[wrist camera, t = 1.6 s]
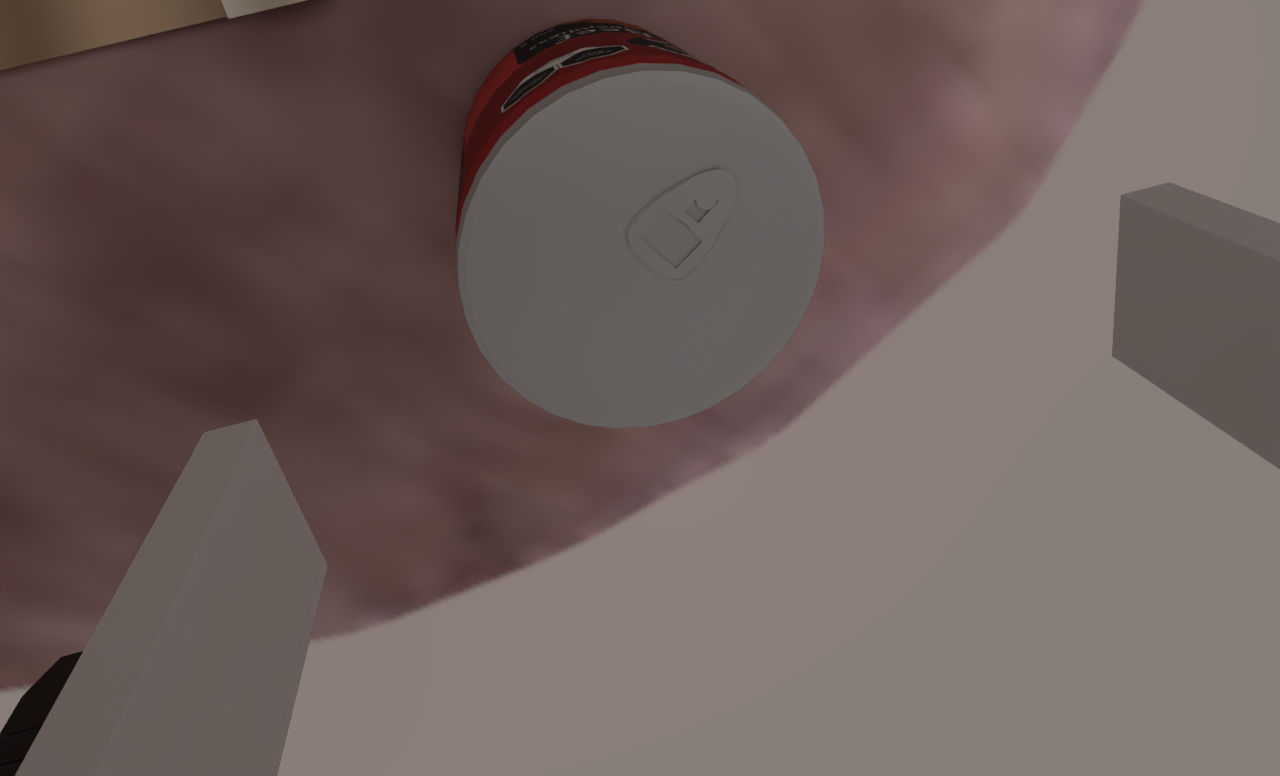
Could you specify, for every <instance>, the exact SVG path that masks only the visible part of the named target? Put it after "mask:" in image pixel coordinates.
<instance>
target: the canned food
mask: <svg viewBox="0 0 1280 776" xmlns="http://www.w3.org/2000/svg"><path fill="white" fill-rule="evenodd" d="M824 246H825V240H824V209H823V204H822V200H821V195H820V191H819V186H818V182H817V177H816V175H815V173H814V171H813V169H812V167H811V165H810V162H809V160H808V158H807V156H806V154H805V152H804V149H803V147H802V146H801V144H800V143H799V142H798V140H797V139H796V138H795V137H794V135H793V134H792V133H791V131H790V130H789V129H788V128H787V126H786V125H785V124H784V122H783V121H782V120H781V118H780V117H779V116H778V115H777V113H776V112H775V111H774V110H773V109H772V108H770V107H769V106H768V105H767V104H765V103H764V102H763V101H762V100H761V99H759V98H758V97H757V96H756V95H754V94H753V93H752V92H751V91H750V90H748V89H747V88H745V87H744V86H742V85H740V84H739V83H738V82H737V81H735V80H734V79H732V78H731V77H729V76H727V75H725V74H724V73H722V72H720V71H718V70H717V69H715V68H713V67H711V66H710V65H708V64H706V63H704V62H703V61H701V60H699V59H697V58H696V57H694V56H692V55H690V54H689V53H687V52H685V51H683V50H682V49H680V48H678V47H676V46H675V45H673V44H671V43H669V42H668V41H666V40H664V39H662V38H660V37H658V36H656V35H654V34H652V33H650V32H648V31H646V30H644V29H642V28H640V27H638V26H635V25H631V24H627V23H623V22H619V21H615V20H592V19H586V20H580V21H575V22H570V23H564V24H559V25H557V26H555V27H552V28H550V29H547V30H545V31H543V32H540V33H538V34H535V35H534V36H532V37H531V38H529V39H528V40H526V41H525V42H523V43H522V44H520V45H519V46H517V47H516V48H515V49H513V50H512V51H511V52H510V53H509V54H508V55H507V56H506V57H505V58H504V59H503V60H502V61H501V62H500V63H499V64H498V65H497V66H496V67H495V68H494V69H493V70H492V72H491V73H490V75H489V77H488V78H487V80H486V81H485V83H484V84H483V86H482V87H481V89H480V90H479V92H478V94H477V96H476V99H475V101H474V104H473V106H472V109H471V111H470V114H469V116H468V120H467V125H466V130H465V135H464V140H463V148H462V160H461V171H460V183H459V194H458V206H457V218H456V280H457V284H458V289H459V293H460V298H461V302H462V307H463V311H464V313H465V317H466V321H467V323H468V326H469V328H470V330H471V332H472V334H473V337H474V339H475V341H476V343H477V345H478V347H479V350H480V351H481V353H482V354H483V355H484V357H485V358H486V359H487V361H488V362H489V363H490V365H491V366H492V367H493V369H494V370H495V371H496V373H497V374H498V375H499V377H500V378H501V379H502V380H504V381H505V382H506V383H507V384H508V385H509V386H510V387H512V388H513V389H514V390H515V391H516V392H517V393H519V394H520V395H521V396H522V397H523V398H524V399H526V400H528V401H530V402H531V403H533V404H535V405H537V406H539V407H540V408H542V409H544V410H546V411H547V412H549V413H551V414H553V415H556V416H559V417H562V418H565V419H568V420H571V421H575V422H578V423H581V424H585V425H593V426H600V427H608V428H635V427H649V426H654V425H659V424H663V423H668V422H672V421H677V420H681V419H683V418H686V417H688V416H691V415H693V414H696V413H698V412H701V411H703V410H706V409H708V408H711V407H712V406H714V405H716V404H717V403H719V402H721V401H722V400H724V399H726V398H727V397H729V396H731V395H732V394H734V393H736V392H737V391H739V390H740V389H742V388H743V387H744V386H745V385H746V384H748V383H749V382H750V381H751V380H752V379H753V378H755V377H756V376H757V375H758V374H759V373H760V372H762V371H763V370H764V369H765V368H766V367H767V366H768V365H769V364H770V363H771V361H772V360H773V359H774V358H775V357H776V356H777V354H778V353H779V352H780V351H781V350H782V348H783V347H784V346H785V345H786V344H787V343H788V341H789V340H790V338H791V336H792V335H793V333H794V331H795V330H796V328H797V326H798V325H799V323H800V321H801V320H802V318H803V316H804V314H805V313H806V311H807V308H808V306H809V303H810V300H811V298H812V295H813V292H814V290H815V287H816V284H817V282H818V279H819V274H820V268H821V263H822V257H823V251H824Z"/></svg>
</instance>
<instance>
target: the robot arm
mask: <svg viewBox="0 0 1280 776" xmlns="http://www.w3.org/2000/svg"><path fill="white" fill-rule="evenodd" d="M1116 276H1117V277H1116V294H1115V312H1114V313H1115V314H1114V331H1113V349H1112V356H1113V357H1114V358H1116V359H1117V360H1119V361H1121V362H1122V363H1123V364H1125V365H1126V366H1128V367H1129V368H1131V369H1132V370H1134V371H1135V372H1137V373H1138V374H1140V375H1141V376H1143V377H1144V378H1145V379H1147V380H1148V381H1150V382H1151V383H1153V384H1155V385H1156V386H1157V387H1159V388H1160V389H1162V390H1163V391H1165V392H1166V393H1168V394H1169V395H1171V396H1172V397H1174V398H1175V399H1177V400H1178V401H1179V402H1181V403H1182V404H1184V405H1185V406H1187V407H1188V408H1190V409H1191V410H1193V411H1194V412H1196V413H1197V414H1199V415H1200V416H1202V417H1203V418H1205V419H1206V420H1208V421H1209V422H1211V423H1212V424H1214V425H1215V426H1216V427H1218V428H1219V429H1221V430H1222V431H1224V432H1225V433H1227V434H1228V435H1230V436H1232V437H1233V438H1234V439H1236V440H1237V441H1239V442H1240V443H1242V444H1243V445H1245V446H1246V447H1248V448H1249V449H1250V450H1252V451H1253V452H1255V453H1257V454H1258V455H1259V456H1261V457H1262V458H1264V459H1265V460H1267V461H1268V462H1270V463H1271V464H1273V465H1274V466H1276V467H1277V468H1279V469H1280V223H1278V222H1275V221H1272V220H1270V219H1267V218H1264V217H1261V216H1258V215H1256V214H1253V213H1251V212H1248V211H1245V210H1242V209H1240V208H1237V207H1234V206H1232V205H1229V204H1226V203H1223V202H1220V201H1218V200H1215V199H1212V198H1209V197H1207V196H1204V195H1202V194H1199V193H1196V192H1194V191H1191V190H1188V189H1185V188H1183V187H1180V186H1177V185H1175V184H1172V183H1165V184H1162V185H1158V186H1154V187H1150V188H1146V189H1142V190H1138V191H1134V192H1131V193H1127V194H1123V195H1121V201H1120V220H1119V238H1118V257H1117V275H1116ZM327 566H328V565H327V563H326V561H325V559H324V557H323V555H322V553H321V550H320V548H319V546H318V544H317V542H316V540H315V538H314V536H313V534H312V532H311V530H310V528H309V526H308V524H307V522H306V520H305V518H304V515H303V513H302V511H301V509H300V507H299V505H298V503H297V501H296V499H295V497H294V495H293V493H292V491H291V489H290V487H289V485H288V483H287V480H286V478H285V476H284V474H283V472H282V470H281V468H280V466H279V464H278V462H277V460H276V458H275V456H274V454H273V452H272V450H271V448H270V445H269V443H268V441H267V439H266V437H265V435H264V433H263V431H262V429H261V427H260V425H259V423H258V421H257V419H254V420H250V421H246V422H242V423H238V424H234V425H231V426H227V427H223V428H219V429H215V430H211V431H207V432H204V433H203V435H202V437H201V438H200V440H199V442H198V444H197V446H196V448H195V449H194V451H193V453H192V455H191V457H190V458H189V460H188V462H187V464H186V466H185V468H184V469H183V471H182V473H181V475H180V477H179V478H178V480H177V482H176V484H175V486H174V487H173V489H172V491H171V493H170V495H169V497H168V498H167V500H166V502H165V504H164V506H163V507H162V509H161V511H160V513H159V515H158V517H157V518H156V520H155V522H154V524H153V526H152V527H151V529H150V531H149V533H148V535H147V537H146V538H145V540H144V542H143V544H142V546H141V547H140V549H139V551H138V553H137V555H136V556H135V558H134V560H133V562H132V564H131V566H130V567H129V569H128V571H127V573H126V575H125V576H124V578H123V580H122V582H121V584H120V586H119V587H118V589H117V591H116V593H115V595H114V596H113V598H112V600H111V602H110V604H109V606H108V607H107V609H106V611H105V613H104V615H103V616H102V618H101V620H100V622H99V624H98V626H97V627H96V629H95V631H94V633H93V635H92V636H91V638H90V640H89V642H88V644H87V645H86V647H85V649H84V651H82V652H78V653H74V654H71V655H67V656H63V657H61V658H60V659H59V660H58V661H57V662H56V663H55V664H54V665H53V666H52V667H51V668H50V669H49V670H48V671H47V672H46V673H45V674H44V675H43V676H42V677H41V678H40V679H39V680H38V681H37V682H36V683H35V684H34V685H33V686H32V687H31V688H30V689H29V690H28V691H27V692H26V693H25V694H24V695H23V696H22V698H21V699H20V701H19V703H18V704H17V706H16V708H15V709H14V711H13V713H12V715H11V716H10V718H9V719H8V721H7V723H6V725H5V726H4V728H3V729H2V731H1V733H0V776H277V774H278V769H279V765H280V761H281V757H282V753H283V749H284V745H285V740H286V736H287V732H288V728H289V724H290V720H291V715H292V711H293V707H294V703H295V698H296V695H297V691H298V686H299V682H300V678H301V674H302V669H303V666H304V661H305V657H306V653H307V649H308V645H309V641H310V637H311V632H312V628H313V624H314V620H315V616H316V612H317V608H318V603H319V599H320V595H321V591H322V587H323V583H324V578H325V574H326V570H327Z"/></svg>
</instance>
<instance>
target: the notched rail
mask: <svg viewBox="0 0 1280 776" xmlns="http://www.w3.org/2000/svg"><path fill="white" fill-rule="evenodd" d="M302 1H306V0H0V70H4V69H8V68H13V67H17V66H21V65H25V64H29V63H34V62H38V61H42V60H46V59H50V58H55V57H59V56H63V55H67V54H72V53H76V52H80V51H84V50H88V49H93V48H97V47H101V46H105V45H109V44H114V43H118V42H122V41H126V40H130V39H135V38H139V37H143V36H147V35H152V34H156V33H160V32H164V31H168V30H173V29H177V28H181V27H185V26H189V25H194V24H198V23H202V22H206V21H210V20H215V19H219V18H223V17H227V16H228V19H230V18H235V17H239V16H243V15H247V14H251V13H256V12H260V11H264V10H268V9H272V8H277V7H281V6H285V5H289V4H293V3H298V2H302Z"/></svg>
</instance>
